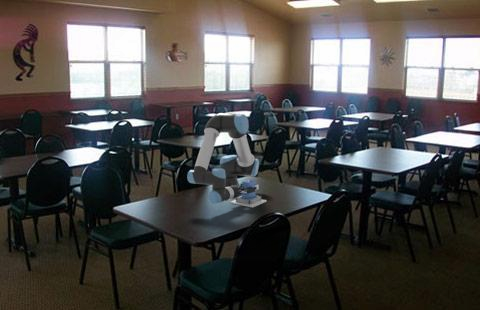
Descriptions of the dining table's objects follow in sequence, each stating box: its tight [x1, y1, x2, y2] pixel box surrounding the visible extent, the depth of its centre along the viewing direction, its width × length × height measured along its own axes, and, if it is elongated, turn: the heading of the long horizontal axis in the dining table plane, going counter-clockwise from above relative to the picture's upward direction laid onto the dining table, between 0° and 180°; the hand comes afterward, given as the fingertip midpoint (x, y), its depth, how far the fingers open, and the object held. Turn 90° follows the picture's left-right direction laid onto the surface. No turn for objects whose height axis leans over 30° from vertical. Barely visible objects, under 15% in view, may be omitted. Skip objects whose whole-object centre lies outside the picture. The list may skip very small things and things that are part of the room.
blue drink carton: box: [241, 179, 257, 200], centre depth 303 cm, size 7×5×13 cm
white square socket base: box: [230, 194, 267, 208], centre depth 304 cm, size 16×16×4 cm
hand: (253, 185), depth 306 cm, fingers open, 6 cm apart
